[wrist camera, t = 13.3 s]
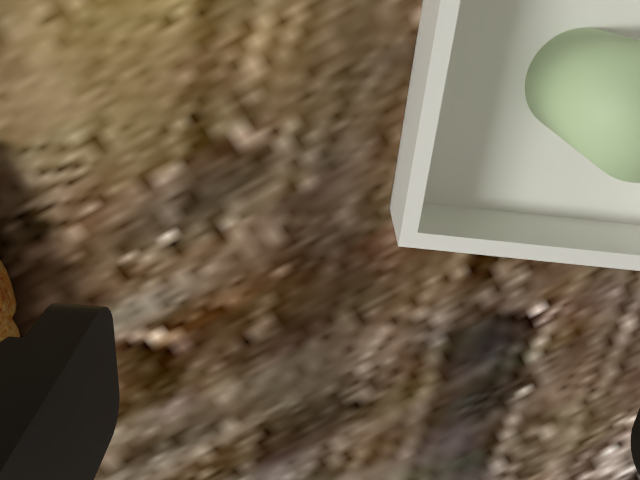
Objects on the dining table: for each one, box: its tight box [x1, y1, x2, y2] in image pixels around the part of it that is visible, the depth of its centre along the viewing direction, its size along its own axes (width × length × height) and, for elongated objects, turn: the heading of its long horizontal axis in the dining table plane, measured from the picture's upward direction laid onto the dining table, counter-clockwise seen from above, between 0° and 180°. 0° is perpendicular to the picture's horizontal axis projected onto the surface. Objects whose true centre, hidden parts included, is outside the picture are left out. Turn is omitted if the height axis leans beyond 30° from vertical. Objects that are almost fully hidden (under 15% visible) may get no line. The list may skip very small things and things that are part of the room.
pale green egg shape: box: [525, 27, 640, 183], centre depth 27 cm, size 5×5×8 cm
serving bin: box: [390, 0, 640, 271], centre depth 29 cm, size 16×16×5 cm
